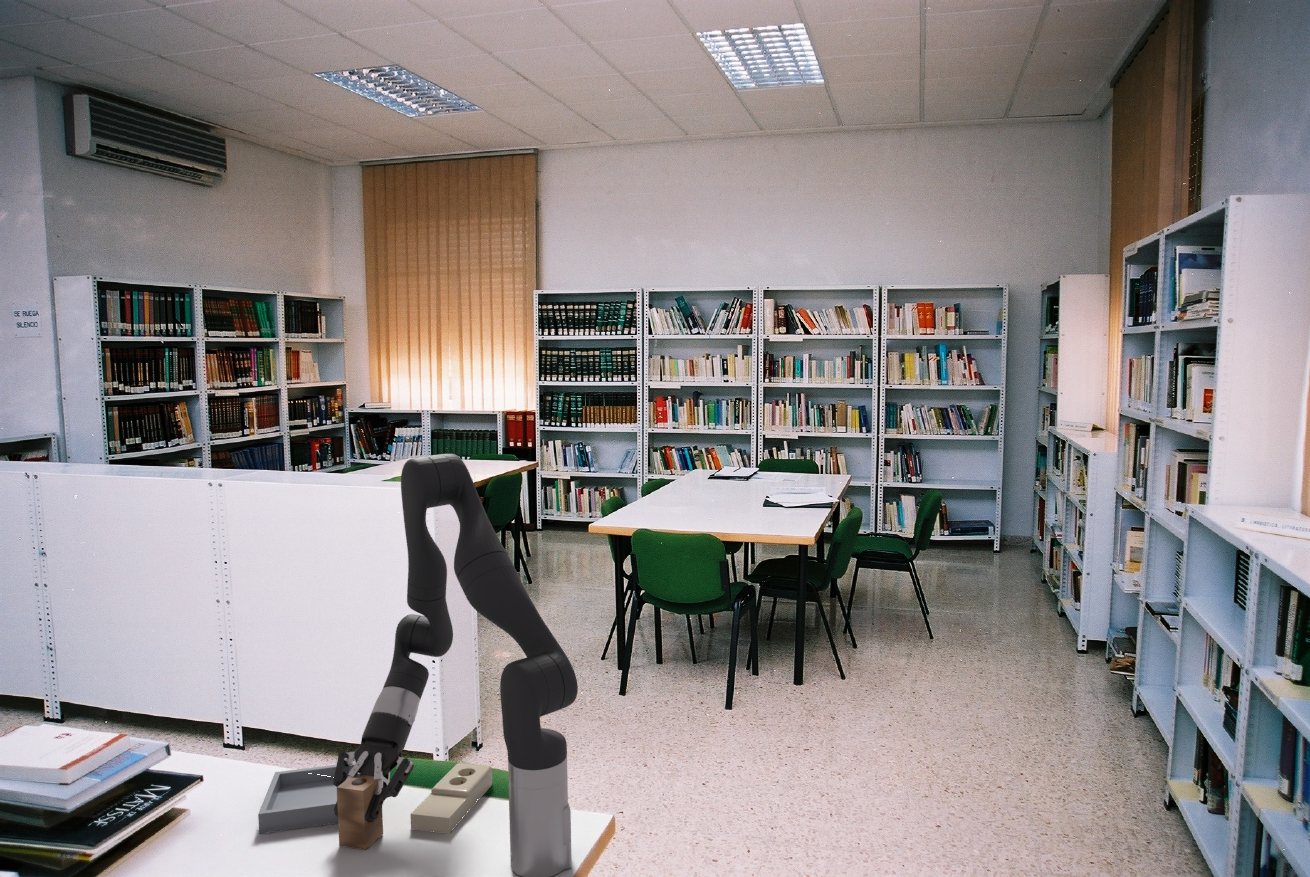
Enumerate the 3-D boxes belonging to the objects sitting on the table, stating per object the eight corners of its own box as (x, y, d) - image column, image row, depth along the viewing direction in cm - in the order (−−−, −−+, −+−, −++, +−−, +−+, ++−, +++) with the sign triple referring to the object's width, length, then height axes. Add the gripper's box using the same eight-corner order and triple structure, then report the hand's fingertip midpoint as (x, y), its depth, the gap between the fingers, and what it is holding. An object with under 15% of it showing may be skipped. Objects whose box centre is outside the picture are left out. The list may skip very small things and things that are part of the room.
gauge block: (383, 833, 142) (380, 776, 142) (365, 849, 137) (363, 790, 137) (357, 830, 144) (355, 773, 143) (339, 845, 139) (336, 786, 138)
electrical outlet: (410, 808, 144) (457, 761, 161) (411, 831, 144) (458, 782, 161) (448, 812, 142) (492, 765, 160) (449, 835, 142) (492, 785, 160)
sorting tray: (365, 778, 162) (364, 761, 162) (358, 820, 147) (357, 800, 147) (275, 790, 158) (275, 772, 158) (259, 833, 143) (258, 814, 143)
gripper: (347, 706, 148) (304, 806, 138) (419, 713, 145) (382, 816, 134) (366, 723, 154) (327, 820, 143) (436, 731, 150) (401, 831, 139)
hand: (353, 818), depth 138 cm, fingers closed on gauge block, 5 cm apart
